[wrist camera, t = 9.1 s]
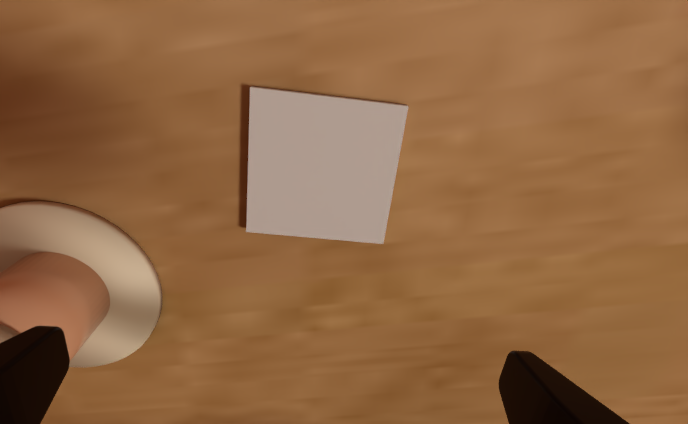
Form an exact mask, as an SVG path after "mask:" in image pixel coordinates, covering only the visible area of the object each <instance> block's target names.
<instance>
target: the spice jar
mask: <svg viewBox="0 0 688 424" xmlns="http://www.w3.org/2000/svg"><path fill="white" fill-rule="evenodd" d="M109 308H110V296H109V292H108V289H107V287H106V285H105V283H104V281H103V280H102V279H101V277H100V276H99V275H98V274H97V273H96V272H95V271H94V270H93V269H92V268H91V267H89V266H88V265H86V264H85V263H83V262H81V261H80V260H78V259H75V258H73V257H71V256H68V255H64V254H60V253H54V252H38V253H33V254H30V255H27V256H25V257H23V258H21V259H19V260H18V261H17V262H15V263H14V264H12V265H11V266H9V267H8V268H7V269H5V270H4V271H2V272H1V273H0V343H1V342H4V341H6V340H8V339H10V338H12V337H14V336H16V335H18V334H20V333H22V332H24V331H26V330H28V329H30V328H32V327H35V326H57V327H60V328H61V329H62V330H63V331H64V335H65V339H66V344H67V348H68V353H69V357H70V361H71V360H72V358H73V357H74V356H75V355H76V353H77V352H78V351H79V350H80V348H81V347H82V346H83V345H84V343H85V342H86V341H87V340H88V338H89V337H90V336H91V335H92V333H93V332H94V331H95V330H96V328H97V327H98V326H99V325H100V323H101V322H102V321H103V320H104V318H105V317H106V315H107V313H108V311H109Z"/></svg>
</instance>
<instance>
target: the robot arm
mask: <svg viewBox="0 0 688 424" xmlns="http://www.w3.org/2000/svg"><path fill="white" fill-rule="evenodd" d="M69 364H70V357H69V353H68V348H67V344H66V339H65V335H64V331H63V330H62V329H61V328H60V327H57V326H35V327H32V328H30V329H28V330H26V331H24V332H22V333H20V334H18V335H16V336H14V337H12V338H10V339H8V340H6V341H4V342H1V343H0V424H40V423H41V421H42V419H43V417H44V416H45V414H46V412H47V410H48V408H49V406H50V404H51V402H52V400H53V398H54V396H55V394H56V393H57V391H58V389H59V387H60V385H61V383H62V381H63V379H64V377H65V375H66V373H67V371H68V368H69ZM499 390H500V394H501V398H502V401H503V405H504V408H505V411H506V415H507V418H508V422H509V424H629V423H628V422H627V421H625V420H624V419H622V418H621V417H620V416H618V415H617V414H616V413H614V412H613V411H611V410H610V409H609V408H607V407H606V406H605V405H603V404H602V403H600V402H599V401H598V400H596V399H595V398H594V397H592V396H591V395H589V394H588V393H587V392H585V391H584V390H583V389H581V388H580V387H578V386H577V385H576V384H574V383H573V382H572V381H570V380H569V379H567V378H566V377H565V376H563V375H562V374H561V373H559V372H558V371H556V370H555V369H554V368H552V367H551V366H550V365H548V364H547V363H545V362H544V361H543V360H541V359H540V358H539V357H537V356H536V355H534V354H533V353H531V352H528V351H511V352H510V353H509V354H508V356H507V358H506V361H505V364H504V367H503V370H502V372H501V375H500V378H499Z"/></svg>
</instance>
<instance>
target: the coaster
mask: <svg viewBox="0 0 688 424" xmlns="http://www.w3.org/2000/svg"><path fill="white" fill-rule="evenodd" d="M38 252H54V253H60V254H64V255H68V256H71V257H73V258H75V259H78V260H80V261H81V262H83V263H85V264H86V265H88V266H89V267H91V268H92V269H93V270H94V271H95V272H96V273H97V274H98V275H99V276H100V277H101V279H102V280H103V281H104V283H105V285H106V287H107V289H108V292H109V296H110V308H109V311H108V313H107V315H106V317H105V318H104V320H103V321H102V322H101V323H100V325H99V326H98V327H97V328H96V330H95V331H94V332H93V333H92V335H91V336H90V337H89V338H88V340H87V341H86V342H85V343H84V345H83V346H82V347H81V348H80V350H79V351H78V352H77V353H76V355H75V356H74V357H73V358H72V360H71V361H70V364H69V367H93V366H100V365H105V364H109V363H112V362H115V361H118V360H120V359H122V358H125V357H127V356H128V355H130V354H132V353H133V352H135V351H136V350H137V349H138V348H139V347H140V346H142V345H143V344H144V342H145V341H146V340H147V339H148V337H149V336H150V334H151V332H152V331H153V329H154V327H155V326H156V324H157V322H158V319H159V317H160V314H161V308H162V290H161V284H160V281H159V278H158V275H157V272H156V270H155V268H154V266H153V264H152V263H151V261H150V259H149V258H148V256H147V255H146V253H145V252H144V251H143V250H142V249H141V247H140V246H139V245H138V244H137V243H136V242H135V241H134V240H133V239H132V238H131V237H130V236H129V235H128V234H126V233H125V232H124V231H122V230H121V229H120V228H119V227H117V226H116V225H114V224H112V223H111V222H109V221H108V220H106V219H104V218H102V217H100V216H98V215H96V214H94V213H92V212H89V211H87V210H84V209H81V208H78V207H75V206H71V205H67V204H63V203H56V202H48V201H30V202H20V203H16V204H11V205H7V206H5V207H2V208H0V273H1V272H2V271H4V270H5V269H7V268H8V267H9V266H11V265H12V264H14V263H15V262H17V261H18V260H19V259H21V258H23V257H25V256H27V255H30V254H33V253H38Z"/></svg>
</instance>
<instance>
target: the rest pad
mask: <svg viewBox="0 0 688 424" xmlns="http://www.w3.org/2000/svg"><path fill="white" fill-rule="evenodd" d="M407 111H408V106H407V105H403V104H395V103H387V102H378V101H370V100H362V99H354V98H345V97H337V96H329V95H320V94H312V93H304V92H296V91H287V90H279V89H271V88H263V87H254V86H251V87H250V107H249V146H248V184H247V223H246V232H254V233H265V234H276V235H288V236H299V237H311V238H322V239H333V240H345V241H356V242H368V243H379V244H383V243H384V237H385V232H386V226H387V221H388V215H389V210H390V204H391V199H392V193H393V188H394V182H395V177H396V171H397V166H398V160H399V155H400V149H401V144H402V138H403V133H404V127H405V122H406V117H407Z"/></svg>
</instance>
